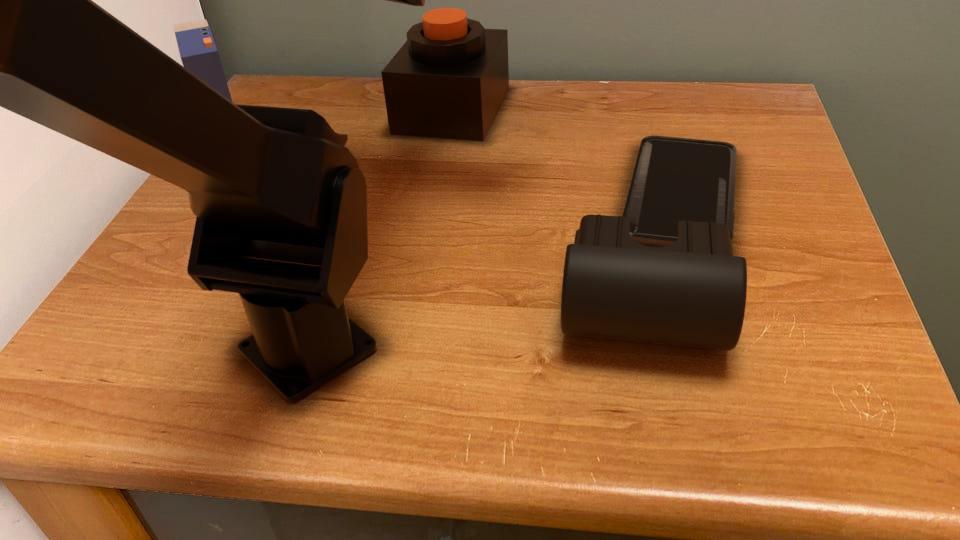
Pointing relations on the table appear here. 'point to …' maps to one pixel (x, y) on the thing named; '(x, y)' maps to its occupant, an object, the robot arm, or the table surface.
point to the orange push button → (445, 24)
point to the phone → (680, 187)
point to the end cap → (654, 286)
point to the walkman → (201, 54)
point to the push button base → (447, 84)
